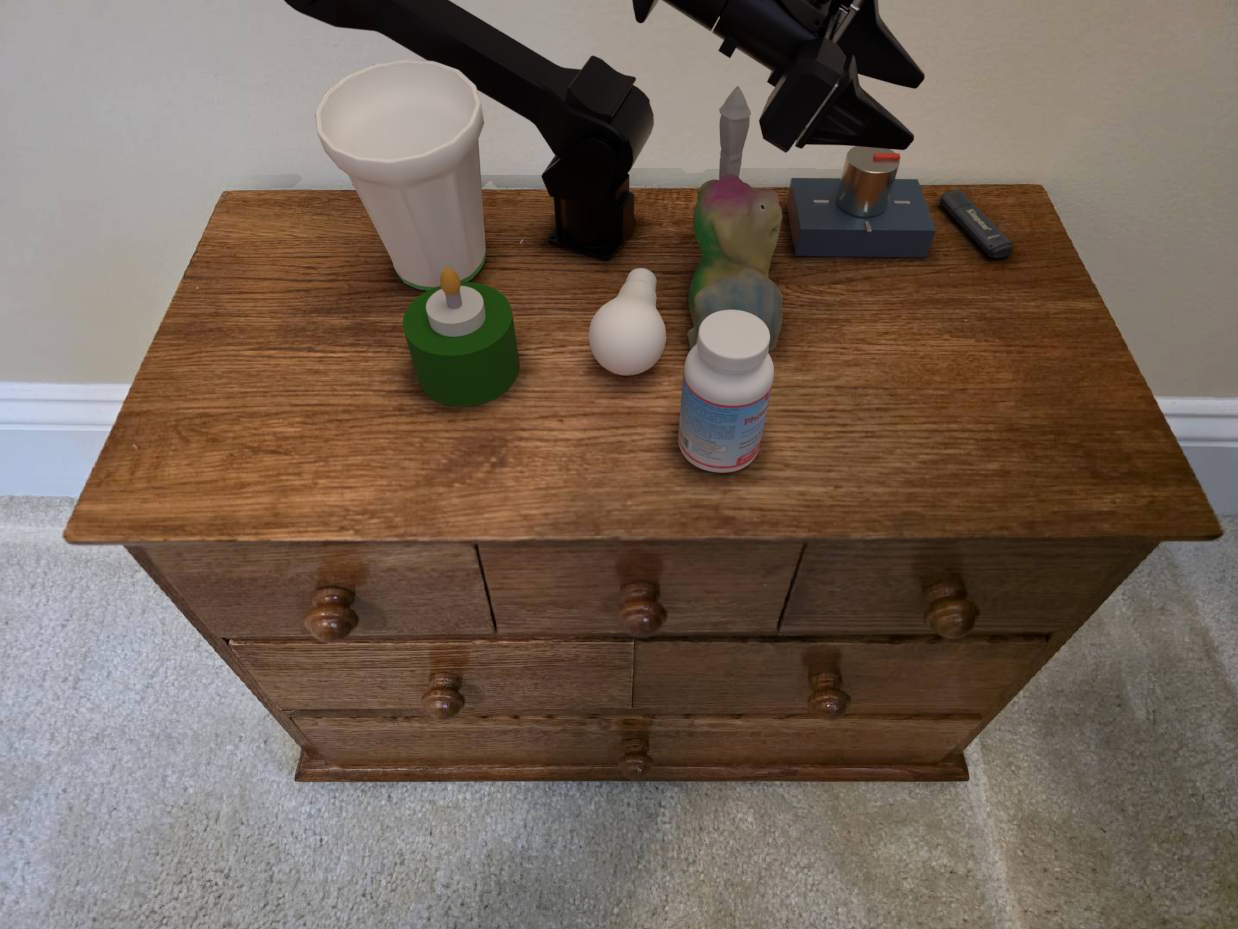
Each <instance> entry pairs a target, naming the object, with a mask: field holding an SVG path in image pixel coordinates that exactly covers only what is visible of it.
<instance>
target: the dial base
mask: <svg viewBox="0 0 1238 929" xmlns="http://www.w3.org/2000/svg"><path fill="white" fill-rule="evenodd" d="M840 181H841V177H839V178H837V177H791V178H790V183H789V188H788V194H787V199H786V205H785V206H786V212H787V216H788V223H789V229H790V235H791V240H792V245H793V251H794V256H795V257H840V258H841V257H850V258H853V257H854V258H857V257H858V258H921V259H922V258H923V259H924V258H927V256H928V254H929V251H930V248H931V246H932V242H933V240H934V237H935V234H936V231H937V229H936V227H935V223H934V220H933V218H932V216H931V212H930V209H929V207H928V204H927V200H926V198H925V196H924V193H923V190H922V187H921V184H920V181H919V179H918V178H895V181H894V184H893V188H892V191H891V194H890V198H889V201H888V204H887V208H886V209H885V211H884V212H883V213H881V214H879V215H877V216H872V217H859V216H854V215H851V214H849V213H847V212H845V211H843V210H842V209H841V208H840V207H839V206H838V204H837V201H836V197H837V193H838V189H839V185H840Z"/></svg>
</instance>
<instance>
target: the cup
mask: <svg viewBox="0 0 1238 929" xmlns="http://www.w3.org/2000/svg"><path fill="white" fill-rule="evenodd" d="M314 118H315V128H316V134H317V137H318V139H319V143H321V146H322V149H323V151H324V152H325V154H326V155H327V156H328V157H329V158H330V160H331V161H332V162H333V163H334V164H335V165H336V167H337V168H338V169H339V170H340V171H342V172H344V173H345V174H346V175H348V178H349V179H350V182H351V183H352V185H353V187H354V189H355V191H356V194H357V195H358V197H359V199H360V201H361V203H362V205H363V207H364V209H365V211H366V212H367V215H368V217H369V219H370V220H371V223H372V224H373V226H374V228H375V230H376V232H377V234H378V236H379V238H380V240H381V242H382V244H383V246H384V248H385V250H386V251H387V254H388V255H389V258H390V259H391V262H392V265H393V268H394V272H395V273H396V275H397V276H398V278H399V279H400V280H401V281H402V282H403V283H404V284H405V285H408V286H410V287H412V288H415V289H417V290H420V291H425V292H426V291H428V290H430V289H432V288H435V287H438V286H441V285H440V277H441V274H442V272H443V270H445V269H446V268H450V269H452V270H453V271H455V272H456V274H457V275H458V277H459V279H460V282H470V281H471V280H473V279H474V278H475V277H476V275H478V274H479V272H480V270H481V269H482V268H483V267H484V264H485V261H486V257H487V255H488V254H487V251H486V250H487V247H486V246H487V245H486V234H485V233H486V232H485V218H484V217H485V216H484V202H483V187H482V173H481V172H482V171H481V158H480V145H479V144H480V142H479V139H480V136H481V133H482V130H483V128H484V125H485V120H484V111H483V106H482V102H481V99H480V95H479V91H478V90H477V88H476V85H474V84H473V83H472V82H471V81H470V80H469V79H468V78H467V77H466V76H465V75H464V74H463V73H461V72H460V71H459V70H457V69H454V68H452V67H449V66H446V65H443V64H440V63H437V62H434V61H427V60H425V59H423V60H421V59H408V58H403V59H397V60H390V61H386V62H380V63H373V64H371V65H369V66H366V67H364V68H361V69H359V70H357V71H355V72H352V73H350V74H348V75H346V76H344V77H343V78H342V79H340V80H339V81H338V82H337V83H336V84H335V85H334V86H332V87H331V88H329V89H328V91H326V92H325V94H324V96H323V98H322V100H321V101H320V104H319V105H318V107H317V108H316V110H315V112H314Z"/></svg>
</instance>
